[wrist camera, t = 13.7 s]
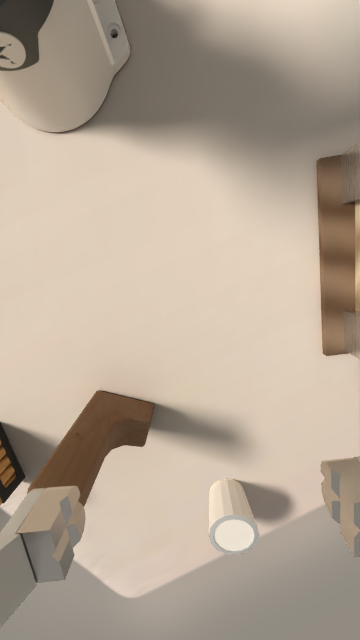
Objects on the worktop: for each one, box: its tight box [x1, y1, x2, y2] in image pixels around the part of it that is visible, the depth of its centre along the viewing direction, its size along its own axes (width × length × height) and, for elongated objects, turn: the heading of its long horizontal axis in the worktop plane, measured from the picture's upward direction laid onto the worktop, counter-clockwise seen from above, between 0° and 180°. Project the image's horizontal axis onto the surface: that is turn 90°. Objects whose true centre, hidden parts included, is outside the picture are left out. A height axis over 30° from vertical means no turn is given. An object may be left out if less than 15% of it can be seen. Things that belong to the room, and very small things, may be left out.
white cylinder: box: [209, 478, 259, 555], centre depth 40 cm, size 7×7×7 cm
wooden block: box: [27, 391, 154, 506], centre depth 32 cm, size 9×4×18 cm, turn 76°
